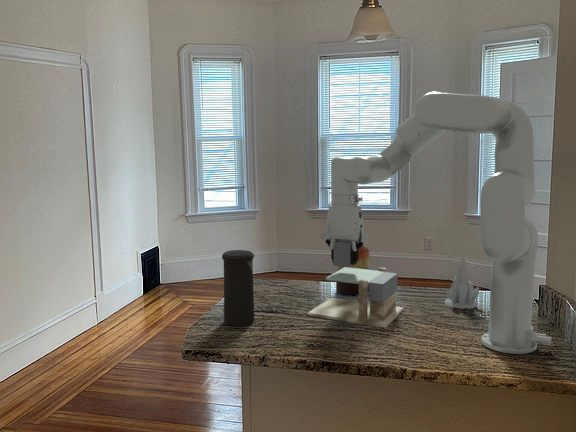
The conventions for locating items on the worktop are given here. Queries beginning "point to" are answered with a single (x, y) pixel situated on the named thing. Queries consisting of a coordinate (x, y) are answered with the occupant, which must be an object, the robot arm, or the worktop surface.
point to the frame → (360, 308)
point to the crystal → (462, 290)
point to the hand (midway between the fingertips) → (344, 262)
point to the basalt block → (342, 253)
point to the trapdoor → (369, 281)
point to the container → (238, 287)
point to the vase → (362, 263)
